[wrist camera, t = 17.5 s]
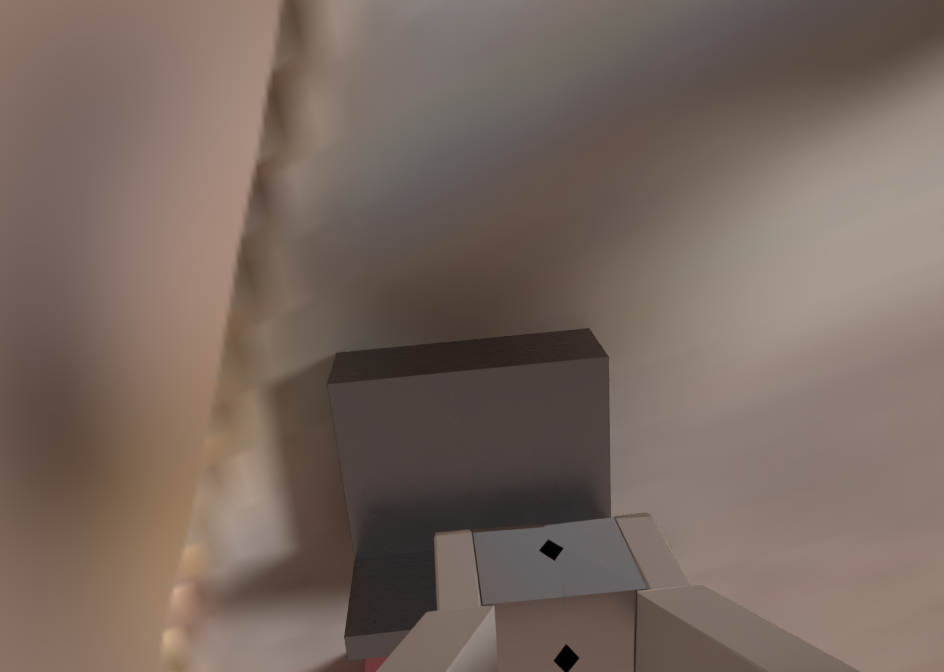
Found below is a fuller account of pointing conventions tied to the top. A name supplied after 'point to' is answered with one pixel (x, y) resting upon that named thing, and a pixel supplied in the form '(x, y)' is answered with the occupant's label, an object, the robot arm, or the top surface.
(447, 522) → the metal bookend
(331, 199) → the top surface
